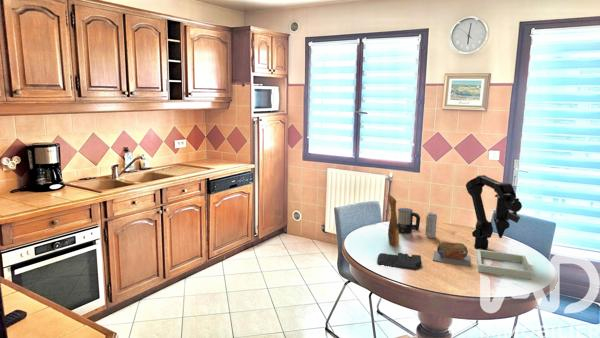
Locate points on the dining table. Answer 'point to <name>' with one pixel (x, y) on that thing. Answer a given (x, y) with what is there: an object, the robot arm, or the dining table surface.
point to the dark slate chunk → (400, 261)
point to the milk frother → (407, 221)
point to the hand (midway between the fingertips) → (499, 235)
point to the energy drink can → (431, 224)
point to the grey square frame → (502, 270)
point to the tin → (452, 250)
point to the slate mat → (449, 260)
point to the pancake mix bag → (393, 223)
